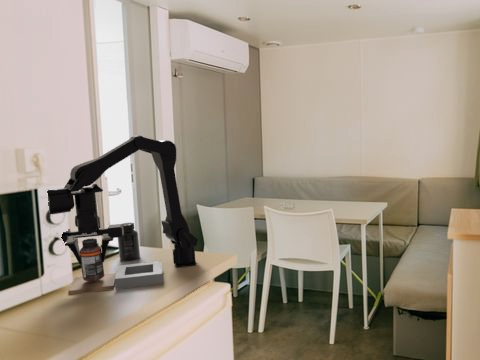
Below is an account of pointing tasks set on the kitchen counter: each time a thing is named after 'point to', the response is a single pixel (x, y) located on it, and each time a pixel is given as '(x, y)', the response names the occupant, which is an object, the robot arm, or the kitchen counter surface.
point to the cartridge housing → (138, 275)
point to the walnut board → (92, 284)
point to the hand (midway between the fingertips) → (92, 263)
